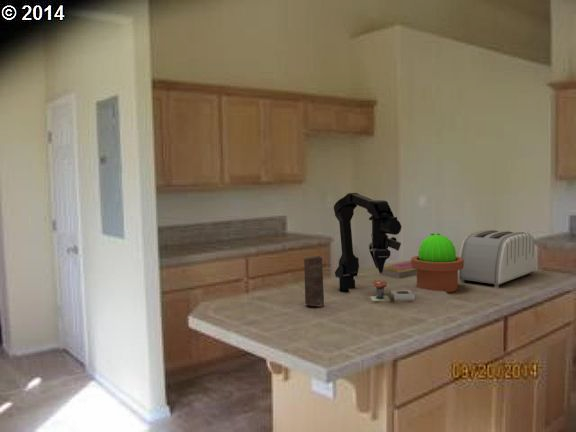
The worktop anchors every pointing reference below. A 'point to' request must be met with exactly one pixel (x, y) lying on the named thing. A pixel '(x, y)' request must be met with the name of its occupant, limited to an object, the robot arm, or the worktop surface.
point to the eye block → (402, 295)
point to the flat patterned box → (399, 270)
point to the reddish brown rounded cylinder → (379, 288)
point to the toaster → (497, 256)
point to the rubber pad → (379, 299)
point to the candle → (314, 281)
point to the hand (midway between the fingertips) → (379, 270)
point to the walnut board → (390, 300)
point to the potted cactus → (437, 264)
